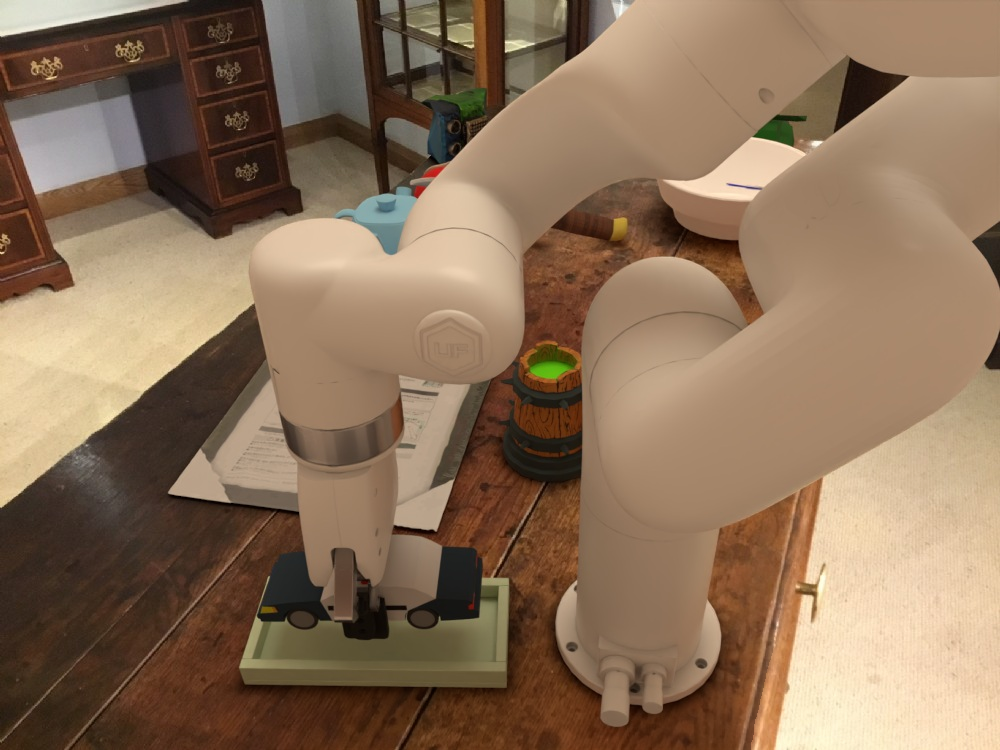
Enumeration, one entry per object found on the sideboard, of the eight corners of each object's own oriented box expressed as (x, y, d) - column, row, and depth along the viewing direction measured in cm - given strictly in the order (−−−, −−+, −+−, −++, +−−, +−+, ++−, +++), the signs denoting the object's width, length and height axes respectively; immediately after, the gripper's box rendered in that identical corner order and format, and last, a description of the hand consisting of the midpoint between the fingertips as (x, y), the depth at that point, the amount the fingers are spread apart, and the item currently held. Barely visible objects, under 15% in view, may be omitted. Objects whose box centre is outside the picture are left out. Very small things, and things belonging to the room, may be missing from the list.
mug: (478, 457, 83) (473, 360, 76) (538, 403, 90) (538, 310, 83) (592, 512, 77) (597, 413, 70) (647, 451, 83) (657, 354, 76)
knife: (618, 249, 118) (405, 204, 113) (619, 229, 120) (408, 183, 115) (632, 227, 114) (410, 179, 109) (632, 207, 115) (414, 158, 110)
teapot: (473, 282, 110) (467, 200, 104) (380, 317, 104) (368, 233, 97) (412, 240, 120) (404, 164, 114) (324, 270, 114) (310, 191, 108)
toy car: (278, 578, 67) (265, 531, 64) (483, 576, 66) (479, 529, 63) (261, 630, 62) (246, 583, 60) (480, 629, 61) (475, 582, 59)
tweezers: (817, 190, 108) (817, 195, 108) (723, 174, 112) (723, 178, 112) (815, 200, 107) (814, 204, 108) (720, 183, 111) (719, 187, 112)
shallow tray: (506, 688, 63) (505, 671, 61) (244, 684, 64) (238, 667, 62) (509, 594, 70) (508, 577, 68) (273, 592, 71) (268, 575, 69)
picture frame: (164, 493, 80) (291, 321, 103) (165, 496, 80) (292, 324, 103) (437, 530, 75) (505, 340, 98) (437, 533, 75) (505, 343, 98)
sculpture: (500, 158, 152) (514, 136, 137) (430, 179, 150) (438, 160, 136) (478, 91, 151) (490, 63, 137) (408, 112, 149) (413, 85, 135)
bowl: (782, 273, 110) (793, 213, 105) (622, 234, 119) (626, 178, 114) (828, 206, 125) (840, 151, 120) (683, 176, 135) (688, 125, 130)
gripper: (312, 338, 60) (344, 518, 71) (246, 513, 47) (299, 704, 57) (417, 338, 60) (434, 519, 71) (382, 514, 46) (410, 706, 57)
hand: (373, 600), depth 64 cm, fingers closed on toy car, 5 cm apart
